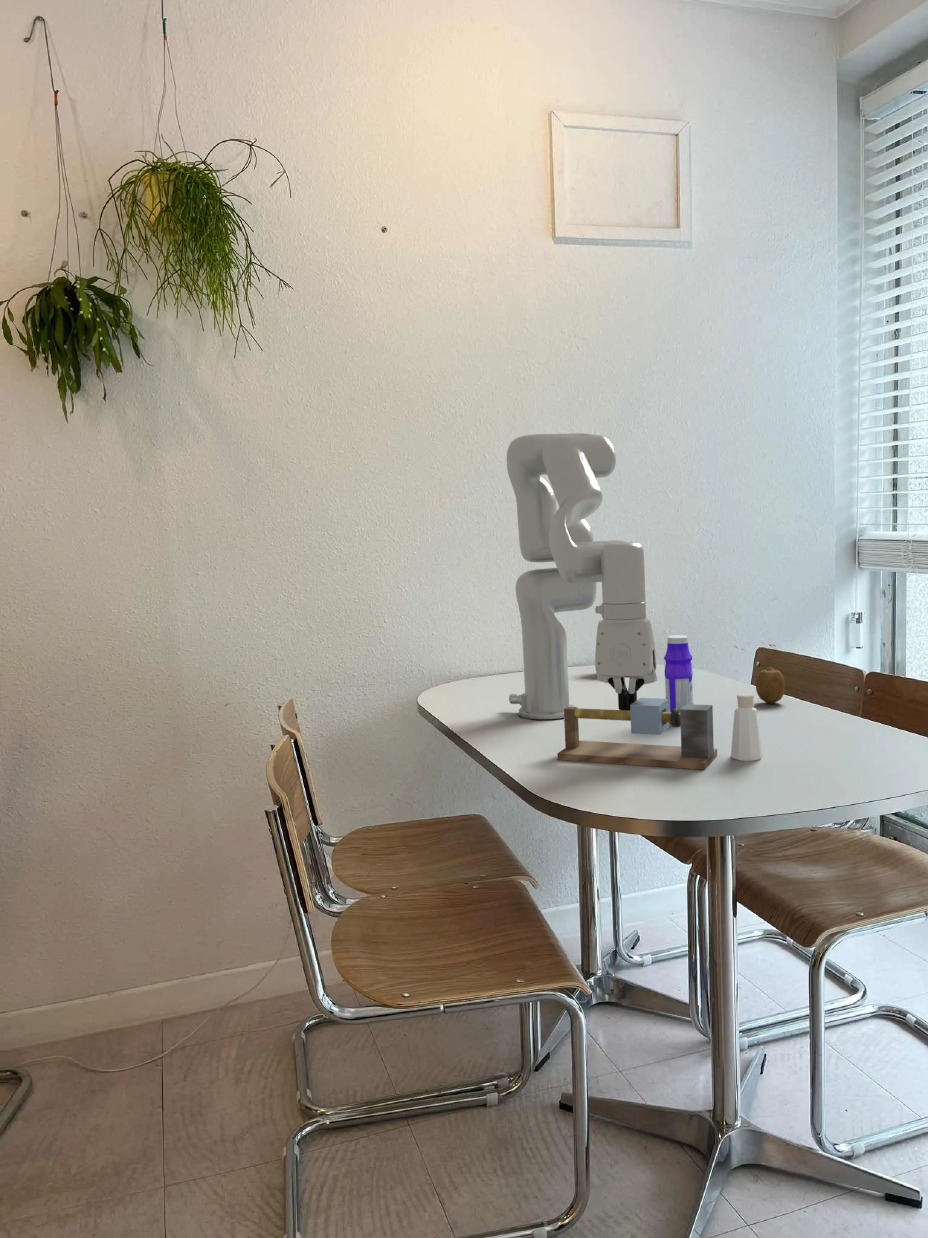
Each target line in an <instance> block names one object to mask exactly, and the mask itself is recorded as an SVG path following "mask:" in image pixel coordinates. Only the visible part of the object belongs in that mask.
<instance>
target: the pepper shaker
mask: <svg viewBox="0 0 928 1238" xmlns="http://www.w3.org/2000/svg"><path fill="white" fill-rule="evenodd" d="M736 698H737V707H736V708H735V709H734V714H733V725H732V726H733V728H732V737H731V750H730V758H731V759H734V760H736V761H743V762H754V761H760V760H761V759H762V757H763V749H762V741H761V734H760V726H759V719H758V710H757V708H756V707H754V698H755V696H754V695H753V693H749V692H748V693H746V692H745V693H744V692H743V693H739V694H737V695H736Z"/></svg>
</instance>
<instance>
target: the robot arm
mask: <svg viewBox="0 0 928 1238" xmlns="http://www.w3.org/2000/svg"><path fill="white" fill-rule="evenodd" d="M616 461H617V455H616V451H615V448H614V445H613V444H612V442H611V441H610V440H609V439H608V438H607V437H606V436H604V435H600V434H590V433H579V432H578V433H577V432H576V433H574V432H573V433H570V432H569V433H537V434H535V433H534V434H527V435H526V434H525V435H523V436H522V435H521V436H519V437H516V438H515V439H514V438H513V440H512V441H511V442H510V443H509V444H508V448H507V451H506V470H507V474H508V478H509V481H510V484H511V487H512V489H513V492H514V495H515V500H516V512H517V528H518V542H519V548H520V549H519V550H520V553H521V556H522V558H523V559H524V560H525V561H527V562H530V563H554V564H555V567H547V568H536V569H531V570H527V571H526V572H523V573H522V574H520V576H519V577H518V578H517V579H516V582H515V596H516V601H517V606H518V611H519V617H520V623H521V638H522V641H521V642H522V656H523V657H522V658H523V679H524V680H523V681H524V693H521V694H517V693H514V694H513V693H512V694H509V697H508V702H509V704H512V705H520V706H521V707H520V708H519V709H518V715H519V716H520V717H521V718H526V719H530V720H531V719H532V720H556V719H564V708H566V707H576V706H575V705H573V704H570V692H569V691H570V688H569V669H568V663H569V662H568V645H567V644H568V642H567V641H568V640H567V633H566V629H565V628H564V626H563V625H562V623H561V622H560V621H559V619H558V618H557V617H556V616H555V614H556V613H561V612H562V613H563V612H573V611H582V610H587V609H589V608H591V607H592V606H593V605H594V603H595V602H596V598H597V583H601V592H602V593H601V595H602V597H601V598H602V603H601V604H599V605H597V606H595V609H594V610H595V612H594V613H595V614H598V615H599V614H600V615H601V618H602V620H599V621H598V624H597V629H596V636H595V637H596V638H595V639H596V640H595V655H594V657H595V659H594V660H595V661H594V663H595V664H594V665H595V672H596V674H597V678H596V679H597V681H599V682H602V683H606V684H609V685H610V687H612V688H613V689H614V690H615V693H617V702H618V703H617V704H618V705H617V706H618V710H629V711H630V705H631V704H632V703H634V702H635V701H637V700H638V693H637V692H638V691H639V690H640V689H641V688H642V687H643V686H644V685H647V684H648V685H649V684H652V683H655V682H656V681H658V677H657V676H658V675H657V673H656V669H657V654H656V647H655V646H656V644H655V637H654V632H653V628H652V624H651V621H650V619H649V618H647V607H646V606H647V605H646V604H647V602H646V580H645V577H646V574H645V570H646V569H645V552H644V547H643V546H642V544H641V543H640V542H639V543H638V542H634V541H633V542H632V541H630V542H627V541H624V540H617V539H616V540H599V541H598V540H597V541H596V540H594V535H593V531H592V528H591V526H590V524H589V522H587V520H586V519H585V518H587V517H589V516H591V515H592V514H594V513H595V512H596V511H597V510H598V509H599V508H600V506H601V504H602V502H603V492H602V490H601V487H600V485H599V483H598V479H597V478H601V479H602V478H607V477H609V476H611V475H612V473H613V472H614V470H615V467H616V464H617V463H616ZM542 476H547V477H548V480H549V483H550V484H549V483H548V481H547V480H546V479H545V478H543V477H542ZM557 504H558V506H559V507H558V506H557ZM557 507H558V509H557ZM626 678H628V687H627V683H626Z"/></svg>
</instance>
